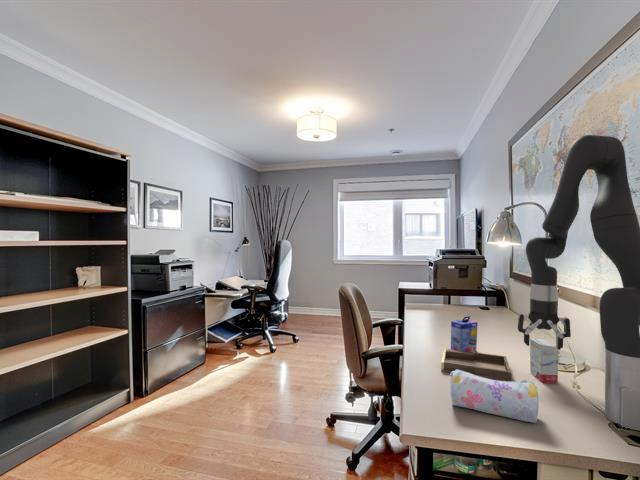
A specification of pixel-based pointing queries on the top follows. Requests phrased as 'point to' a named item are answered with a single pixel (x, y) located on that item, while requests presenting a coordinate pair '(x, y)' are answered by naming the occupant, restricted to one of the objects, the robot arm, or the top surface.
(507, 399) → the pencil case
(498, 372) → the wooden tray
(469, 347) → the ink cartridge box
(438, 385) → the top surface
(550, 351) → the ink box
